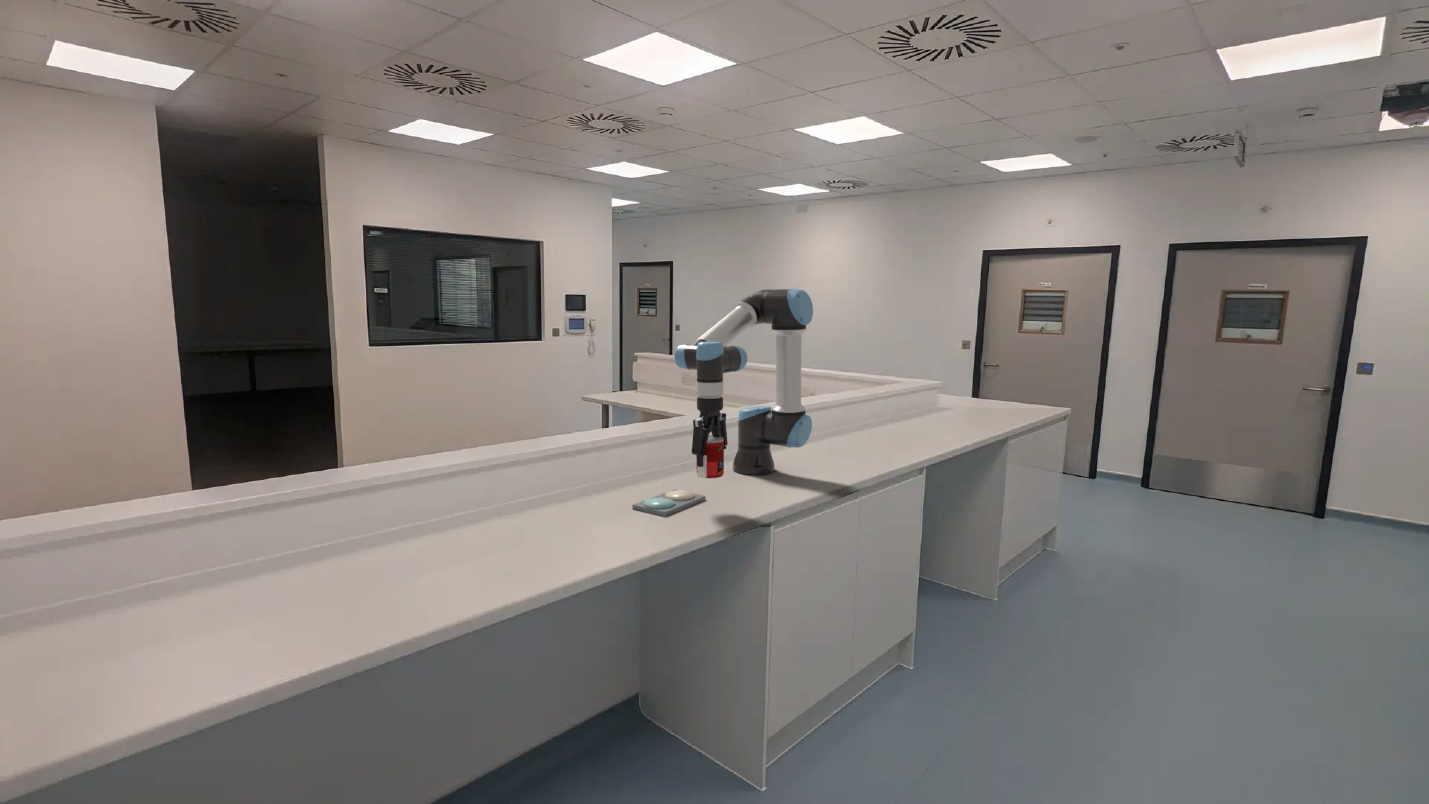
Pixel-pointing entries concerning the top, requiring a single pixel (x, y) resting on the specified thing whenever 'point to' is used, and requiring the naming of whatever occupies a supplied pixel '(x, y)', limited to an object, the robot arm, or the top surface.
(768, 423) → the robot arm
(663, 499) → the pad
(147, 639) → the top surface
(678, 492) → the board
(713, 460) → the canned food
